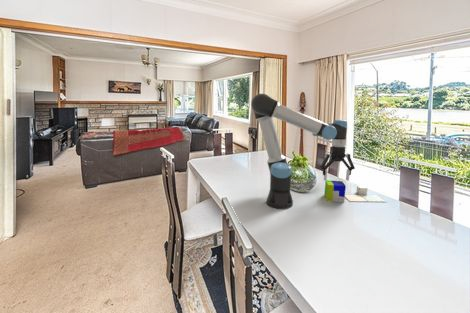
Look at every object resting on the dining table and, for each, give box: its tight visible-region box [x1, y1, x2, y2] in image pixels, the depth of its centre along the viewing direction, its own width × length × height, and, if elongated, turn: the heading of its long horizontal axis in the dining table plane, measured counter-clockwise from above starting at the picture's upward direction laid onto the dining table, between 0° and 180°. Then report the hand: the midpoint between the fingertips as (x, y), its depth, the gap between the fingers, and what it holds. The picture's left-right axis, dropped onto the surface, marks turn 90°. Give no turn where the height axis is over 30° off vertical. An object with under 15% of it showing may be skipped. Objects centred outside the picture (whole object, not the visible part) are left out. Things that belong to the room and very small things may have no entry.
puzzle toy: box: [324, 180, 347, 203], centre depth 157 cm, size 10×10×10 cm
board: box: [345, 194, 387, 203], centre depth 157 cm, size 22×11×1 cm, turn 89°
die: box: [356, 185, 368, 195], centre depth 166 cm, size 5×5×5 cm
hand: (336, 180), depth 155 cm, fingers open, 13 cm apart
